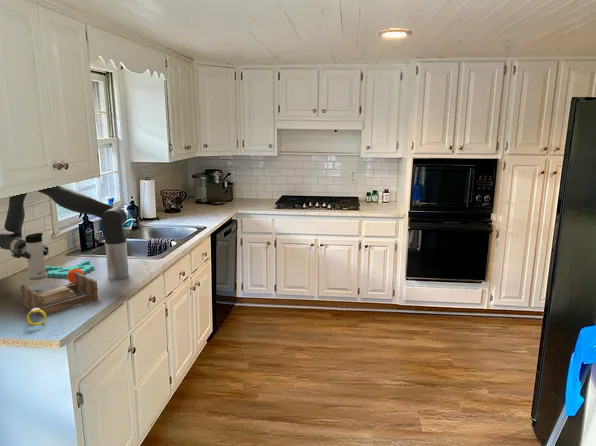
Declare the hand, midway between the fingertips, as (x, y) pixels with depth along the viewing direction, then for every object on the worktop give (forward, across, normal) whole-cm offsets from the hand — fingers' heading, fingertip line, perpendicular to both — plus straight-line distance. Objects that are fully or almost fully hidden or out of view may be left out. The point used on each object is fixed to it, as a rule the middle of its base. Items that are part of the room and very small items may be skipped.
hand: (37, 254), depth 188 cm
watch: (+34, -14, +16) cm, 41 cm away
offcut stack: (+15, 0, +16) cm, 22 cm away
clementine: (+1, +14, +16) cm, 22 cm away
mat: (-2, 0, +16) cm, 17 cm away
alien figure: (-16, +20, +17) cm, 31 cm away
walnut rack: (+19, 0, +16) cm, 25 cm away
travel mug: (-2, 0, +11) cm, 11 cm away
